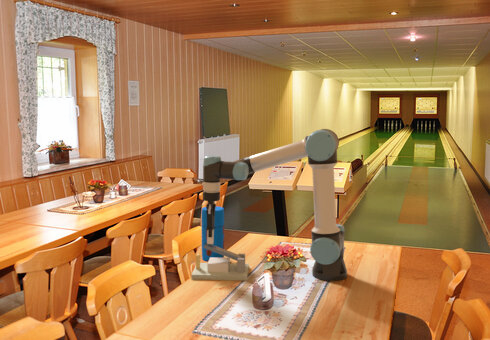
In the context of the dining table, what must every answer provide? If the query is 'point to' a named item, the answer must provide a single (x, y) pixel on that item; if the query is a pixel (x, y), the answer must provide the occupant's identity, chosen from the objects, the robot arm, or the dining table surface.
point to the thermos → (217, 233)
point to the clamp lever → (222, 251)
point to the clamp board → (220, 275)
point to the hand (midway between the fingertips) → (210, 243)
